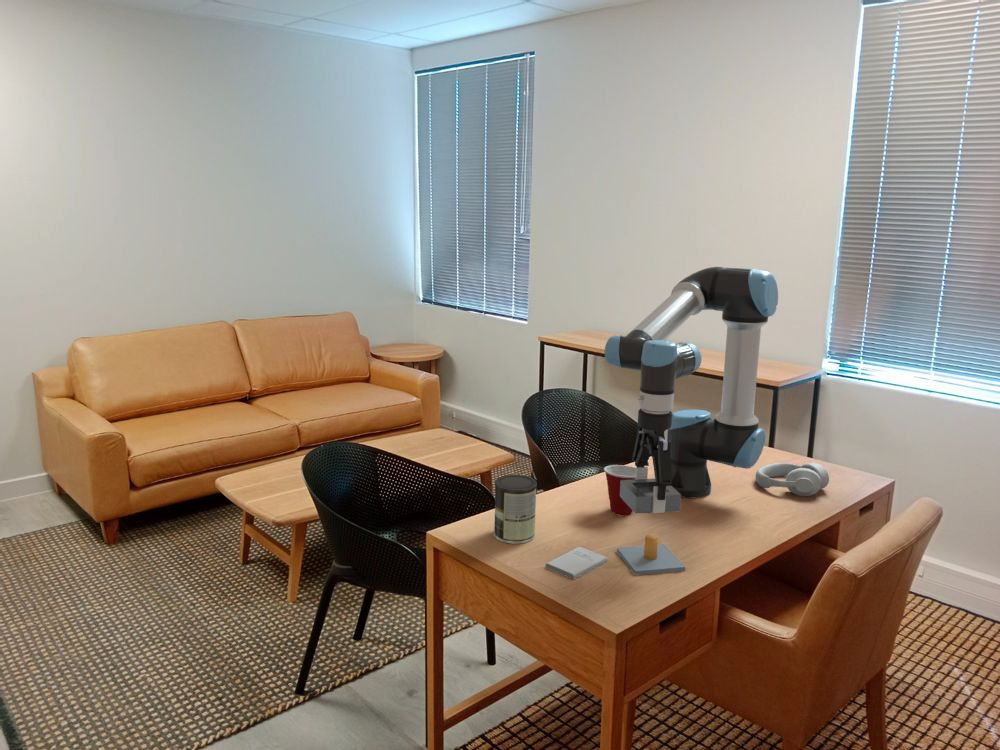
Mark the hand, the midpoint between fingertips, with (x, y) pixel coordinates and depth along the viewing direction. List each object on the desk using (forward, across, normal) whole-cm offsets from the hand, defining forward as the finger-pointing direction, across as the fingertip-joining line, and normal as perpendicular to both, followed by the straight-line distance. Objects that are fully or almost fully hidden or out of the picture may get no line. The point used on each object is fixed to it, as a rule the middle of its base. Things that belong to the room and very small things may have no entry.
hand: (649, 502), depth 179 cm
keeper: (+14, +1, +1) cm, 14 cm away
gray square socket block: (0, 0, 0) cm, 0 cm away
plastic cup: (+14, -28, +4) cm, 32 cm away
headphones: (+14, -39, +60) cm, 73 cm away
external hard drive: (+15, 0, -17) cm, 22 cm away
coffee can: (+14, -18, -28) cm, 36 cm away
